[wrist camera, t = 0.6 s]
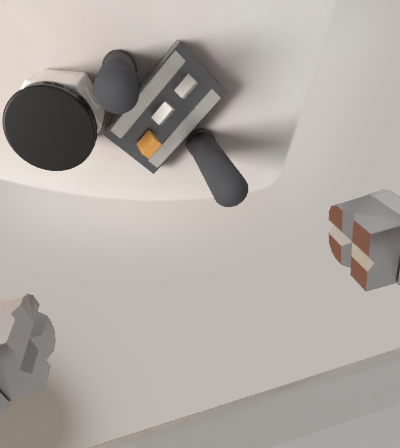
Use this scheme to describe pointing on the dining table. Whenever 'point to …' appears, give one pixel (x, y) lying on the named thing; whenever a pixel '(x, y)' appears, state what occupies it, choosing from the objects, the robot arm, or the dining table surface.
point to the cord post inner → (117, 83)
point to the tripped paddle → (148, 144)
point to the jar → (53, 119)
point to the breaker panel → (164, 92)
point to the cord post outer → (217, 169)
